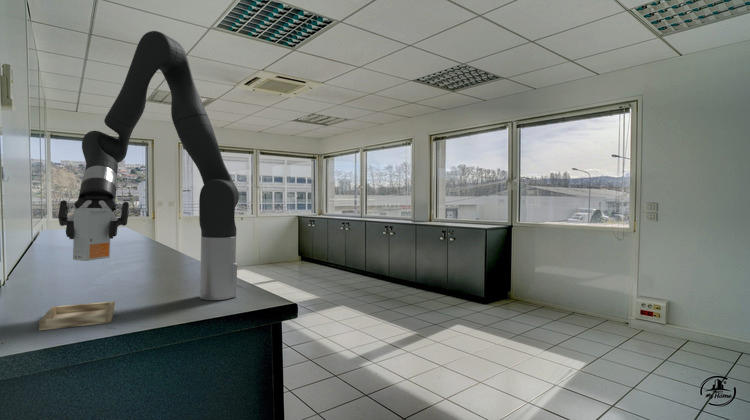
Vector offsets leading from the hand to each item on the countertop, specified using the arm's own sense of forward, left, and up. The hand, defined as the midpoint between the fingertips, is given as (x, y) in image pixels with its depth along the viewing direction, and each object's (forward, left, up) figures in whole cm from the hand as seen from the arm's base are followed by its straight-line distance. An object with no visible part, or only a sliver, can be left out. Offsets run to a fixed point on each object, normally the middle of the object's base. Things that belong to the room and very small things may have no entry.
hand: (91, 236), depth 89 cm
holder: (+1, +3, -18) cm, 19 cm away
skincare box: (0, -2, -6) cm, 6 cm away
